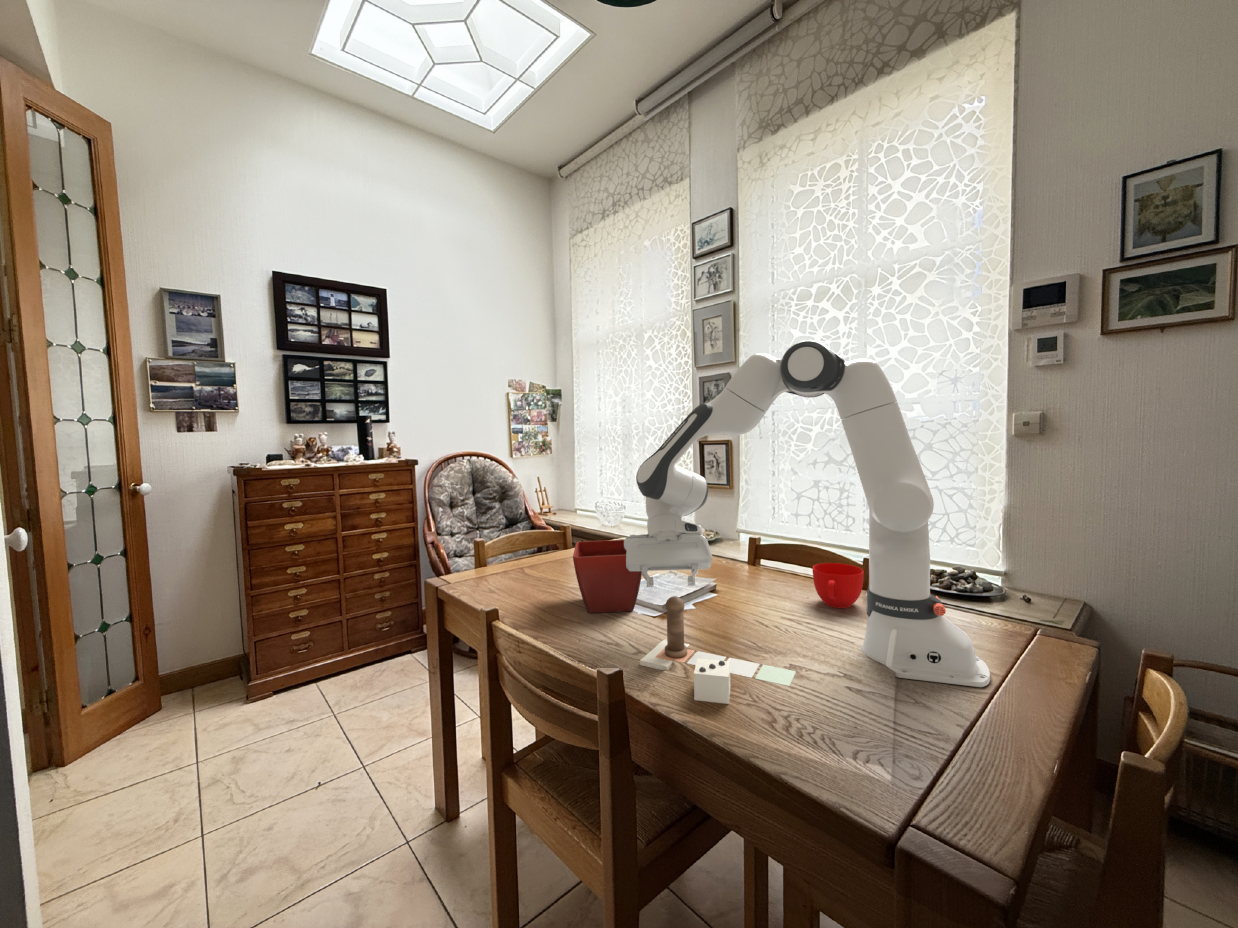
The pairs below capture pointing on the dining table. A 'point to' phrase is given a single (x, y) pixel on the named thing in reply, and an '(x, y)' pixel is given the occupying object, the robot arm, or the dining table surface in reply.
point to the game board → (738, 667)
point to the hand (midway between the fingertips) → (671, 585)
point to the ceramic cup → (838, 583)
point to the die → (712, 681)
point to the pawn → (675, 628)
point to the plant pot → (605, 576)
